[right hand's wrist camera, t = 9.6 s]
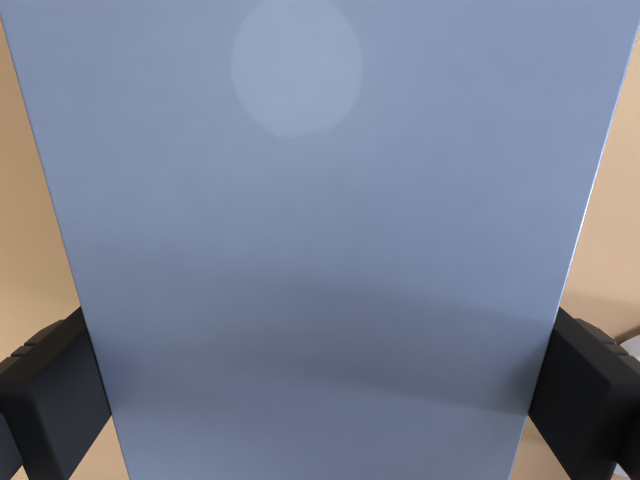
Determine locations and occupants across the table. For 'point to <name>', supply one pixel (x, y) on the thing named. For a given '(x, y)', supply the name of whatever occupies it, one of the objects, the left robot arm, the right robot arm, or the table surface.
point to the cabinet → (320, 218)
